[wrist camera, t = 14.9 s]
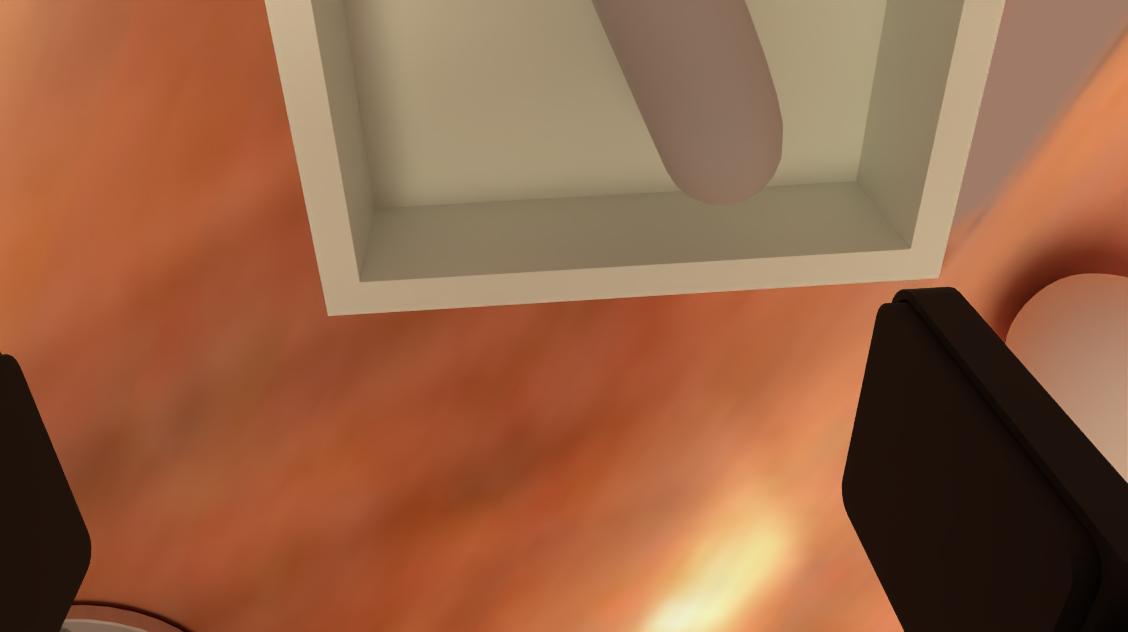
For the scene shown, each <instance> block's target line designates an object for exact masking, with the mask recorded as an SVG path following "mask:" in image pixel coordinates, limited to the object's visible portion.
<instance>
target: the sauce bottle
mask: <svg viewBox="0 0 1128 632" xmlns="http://www.w3.org/2000/svg"><path fill="white" fill-rule="evenodd" d="M1005 344H1006V346H1007V347H1008V348H1009V349H1010V350H1011V351H1012V352H1013V353H1014V355H1015V356H1016V357H1017V358H1018V359H1019V360H1020V361H1021V363H1022V364H1023V365H1024V366H1025V367H1026V368H1027V369H1028V371H1029V372H1030V373H1031V374H1032V375H1033V376H1034V377H1035V378H1036V380H1037V381H1038V382H1039V383H1040V384H1041V385H1042V386H1043V388H1044V389H1045V390H1046V391H1047V392H1048V393H1049V394H1050V396H1051V397H1052V398H1053V399H1054V400H1055V401H1056V402H1057V403H1058V405H1059V406H1060V407H1061V408H1062V409H1063V410H1064V411H1065V413H1066V414H1067V415H1068V416H1069V417H1070V418H1071V419H1072V421H1073V422H1074V423H1075V424H1076V425H1077V426H1078V427H1079V428H1080V430H1081V431H1082V432H1083V433H1084V434H1085V435H1086V436H1087V438H1088V439H1089V440H1090V441H1091V442H1092V443H1093V444H1094V445H1095V447H1096V448H1097V449H1098V450H1099V451H1100V452H1101V453H1102V455H1103V456H1104V457H1105V458H1106V459H1107V460H1108V461H1109V463H1110V464H1111V465H1112V466H1113V467H1114V468H1115V469H1116V470H1117V472H1118V473H1119V474H1120V475H1121V476H1122V477H1123V478H1124V480H1125V481H1126V482H1127V483H1128V277H1124V276H1118V275H1111V274H1099V273H1084V274H1078V275H1072V276H1068V277H1065V278H1062V279H1060V280H1057V281H1055V282H1053V283H1052V284H1050V285H1048V286H1046V287H1045V288H1043V289H1042V290H1041V291H1039V292H1038V293H1036V294H1035V295H1034V296H1033V297H1032V298H1031V299H1030V300H1029V301H1028V302H1027V303H1026V304H1025V305H1024V307H1023V308H1022V309H1021V310H1020V312H1019V313H1018V314H1017V316H1016V317H1015V319H1014V321H1013V322H1012V324H1011V326H1010V329H1009V331H1008V334H1007V337H1006V343H1005Z"/></svg>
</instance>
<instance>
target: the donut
mask: <svg viewBox="0 0 1128 632" xmlns="http://www.w3.org/2000/svg"><path fill="white" fill-rule="evenodd" d="M592 3H593V5H594V7H595V10H596V12H597V14H598V17H599V19H600V21H601V24H602V26H603V28H604V31H605V33H606V35H607V37H608V40H609V42H610V44H611V47H612V49H613V51H614V54H615V56H616V58H617V61H618V63H619V65H620V67H621V70H622V72H623V74H624V77H625V79H626V81H627V83H628V86H629V88H630V90H631V93H632V95H633V97H634V99H635V102H636V104H637V106H638V108H639V111H640V113H641V115H642V118H643V120H644V122H645V124H646V127H647V129H648V131H649V133H650V136H651V138H652V140H653V142H654V145H655V147H656V149H657V151H658V153H659V156H660V158H661V160H662V162H663V164H664V167H665V169H666V171H667V173H668V174H669V176H670V177H671V179H672V180H673V182H674V183H675V185H676V186H677V187H678V188H679V189H680V190H682V191H683V192H684V193H685V194H687V195H688V196H689V197H691V198H693V199H695V200H698V201H701V202H703V203H706V204H709V205H731V204H734V203H738V202H742V201H745V200H747V199H749V198H750V197H752V196H754V195H755V194H757V193H758V192H760V191H761V190H763V188H764V187H765V186H766V185H767V184H768V182H769V181H770V180H771V179H772V177H773V176H774V175H775V172H776V170H777V167H778V165H779V163H780V160H781V157H782V142H783V122H782V117H781V112H780V107H779V102H778V97H777V94H776V90H775V87H774V84H773V80H772V77H771V74H770V70H769V67H768V64H767V60H766V57H765V54H764V51H763V48H762V45H761V43H760V40H759V37H758V34H757V32H756V29H755V26H754V23H753V21H752V18H751V15H750V12H749V10H748V7H747V5H746V2H745V0H592Z"/></svg>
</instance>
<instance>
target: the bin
mask: <svg viewBox="0 0 1128 632" xmlns="http://www.w3.org/2000/svg"><path fill="white" fill-rule="evenodd" d="M1005 1H1006V0H745V2H746V5H747V7H748V10H749V12H750V15H751V18H752V21H753V23H754V26H755V29H756V32H757V34H758V37H759V40H760V43H761V45H762V48H763V51H764V54H765V57H766V60H767V64H768V67H769V70H770V74H771V77H772V80H773V84H774V87H775V90H776V94H777V97H778V102H779V107H780V112H781V117H782V122H783V142H782V157H781V160H780V163H779V165H778V167H777V170H776V172H775V175H774V176H773V177H772V179H771V180H770V181H769V182H768V184H767V185H766V186H765V187H764V188H763V190H761V191H760V192H758V193H757V194H755V195H754V196H752V197H750V198H749V199H747V200H745V201H742V202H738V203H734V204H731V205H709V204H706V203H703V202H701V201H698V200H695V199H693V198H691V197H689V196H688V195H687V194H685V193H684V192H683V191H682V190H680V189H679V188H678V187H677V186H676V185H675V183H674V182H673V180H672V179H671V177H670V176H669V174H668V173H667V171H666V169H665V167H664V164H663V162H662V160H661V158H660V156H659V153H658V151H657V149H656V147H655V145H654V142H653V140H652V138H651V136H650V133H649V131H648V129H647V127H646V124H645V122H644V120H643V118H642V115H641V113H640V111H639V108H638V106H637V104H636V102H635V99H634V97H633V95H632V93H631V90H630V88H629V86H628V83H627V81H626V79H625V77H624V74H623V72H622V70H621V67H620V65H619V63H618V61H617V58H616V56H615V54H614V51H613V49H612V47H611V44H610V42H609V40H608V37H607V35H606V33H605V31H604V28H603V26H602V24H601V21H600V19H599V17H598V14H597V12H596V10H595V7H594V5H593V3H592V0H265V5H266V10H267V15H268V20H269V25H270V30H271V35H272V40H273V45H274V50H275V55H276V60H277V65H278V70H279V75H280V79H281V84H282V89H283V94H284V99H285V104H286V109H287V114H288V119H289V124H290V129H291V134H292V139H293V144H294V149H295V154H296V159H297V164H298V169H299V174H300V179H301V184H302V189H303V194H304V199H305V204H306V209H307V214H308V219H309V224H310V229H311V234H312V239H313V244H314V249H315V254H316V259H317V263H318V268H319V273H320V278H321V283H322V288H323V293H324V298H325V303H326V308H327V313H328V316H336V315H353V314H369V313H385V312H401V311H417V310H433V309H449V308H465V307H481V306H497V305H514V304H530V303H546V302H562V301H578V300H594V299H610V298H626V297H642V296H659V295H675V294H691V293H707V292H723V291H739V290H755V289H771V288H787V287H803V286H820V285H836V284H852V283H868V282H884V281H900V280H916V279H932V278H939V275H940V271H941V267H942V263H943V258H944V254H945V250H946V246H947V242H948V238H949V234H950V229H951V225H952V221H953V217H954V213H955V208H956V204H957V200H958V196H959V192H960V188H961V184H962V179H963V175H964V171H965V167H966V163H967V159H968V155H969V151H970V146H971V142H972V138H973V134H974V130H975V126H976V121H977V117H978V113H979V109H980V104H981V100H982V96H983V92H984V88H985V84H986V79H987V76H988V72H989V67H990V63H991V59H992V55H993V51H994V46H995V43H996V38H997V34H998V30H999V26H1000V22H1001V18H1002V14H1003V9H1004V5H1005Z"/></svg>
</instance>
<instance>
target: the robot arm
mask: <svg viewBox="0 0 1128 632" xmlns="http://www.w3.org/2000/svg"><path fill="white" fill-rule="evenodd" d="M842 496H843V502H844V506H845V509H846V512H847V515H848V517H849V519H850V521H851V523H852V525H853V527H854V529H855V531H856V533H857V535H858V537H859V539H860V541H861V543H862V545H863V547H864V550H865V552H866V554H867V556H868V558H869V560H870V562H871V564H872V566H873V568H874V570H875V572H876V574H877V576H878V578H879V580H880V582H881V584H882V587H883V589H884V591H885V593H886V595H887V597H888V599H889V601H890V603H891V605H892V607H893V609H894V611H895V613H896V615H897V617H898V619H899V621H900V624H901V626H902V628H903V630H904V632H1128V483H1127V482H1126V481H1125V480H1124V478H1123V477H1122V476H1121V475H1120V474H1119V473H1118V472H1117V470H1116V469H1115V468H1114V467H1113V466H1112V465H1111V464H1110V463H1109V461H1108V460H1107V459H1106V458H1105V457H1104V456H1103V455H1102V453H1101V452H1100V451H1099V450H1098V449H1097V448H1096V447H1095V445H1094V444H1093V443H1092V442H1091V441H1090V440H1089V439H1088V438H1087V436H1086V435H1085V434H1084V433H1083V432H1082V431H1081V430H1080V428H1079V427H1078V426H1077V425H1076V424H1075V423H1074V422H1073V421H1072V419H1071V418H1070V417H1069V416H1068V415H1067V414H1066V413H1065V411H1064V410H1063V409H1062V408H1061V407H1060V406H1059V405H1058V403H1057V402H1056V401H1055V400H1054V399H1053V398H1052V397H1051V396H1050V394H1049V393H1048V392H1047V391H1046V390H1045V389H1044V388H1043V386H1042V385H1041V384H1040V383H1039V382H1038V381H1037V380H1036V378H1035V377H1034V376H1033V375H1032V374H1031V373H1030V372H1029V371H1028V369H1027V368H1026V367H1025V366H1024V365H1023V364H1022V363H1021V361H1020V360H1019V359H1018V358H1017V357H1016V356H1015V355H1014V353H1013V352H1012V351H1011V350H1010V349H1009V348H1008V347H1007V346H1006V344H1005V343H1004V342H1003V341H1002V340H1001V339H1000V338H999V336H998V335H997V334H996V333H995V332H994V331H993V330H992V329H991V327H990V326H989V325H988V324H987V323H986V322H985V321H984V319H983V318H982V317H981V316H980V315H979V314H978V313H977V311H976V310H975V309H974V308H973V307H972V306H971V305H970V304H969V302H968V301H967V300H966V299H965V298H964V297H963V296H962V294H961V293H960V292H959V291H957V290H956V289H955V288H952V287H938V288H920V289H903V290H900V291H899V292H897V293H896V295H895V296H894V298H893V300H892V303H885V304H883V305H881V307H880V308H879V310H878V313H877V316H876V321H875V325H874V330H873V335H872V340H871V345H870V350H869V354H868V359H867V364H866V369H865V374H864V379H863V383H862V388H861V393H860V398H859V403H858V408H857V412H856V417H855V422H854V427H853V432H852V436H851V441H850V446H849V451H848V456H847V461H846V465H845V470H844V475H843V481H842ZM90 558H91V540H90V536H89V533H88V530H87V528H86V525H85V523H84V521H83V518H82V516H81V513H80V511H79V508H78V506H77V504H76V501H75V499H74V496H73V494H72V491H71V489H70V487H69V484H68V482H67V479H66V477H65V474H64V472H63V470H62V467H61V465H60V462H59V460H58V457H57V455H56V453H55V450H54V448H53V445H52V443H51V440H50V438H49V436H48V433H47V431H46V428H45V426H44V423H43V421H42V419H41V416H40V414H39V411H38V409H37V406H36V404H35V402H34V399H33V397H32V394H31V392H30V389H29V387H28V385H27V382H26V380H25V377H24V375H23V372H22V370H21V368H20V366H19V364H18V362H17V360H16V359H15V358H14V357H13V356H10V355H7V354H4V355H2V354H1V353H0V632H183V631H181V630H180V629H178V628H176V627H174V626H172V625H170V624H167V623H165V622H163V621H161V620H159V619H156V618H153V617H150V616H147V615H143V614H140V613H137V612H134V611H129V610H123V609H118V608H113V607H106V606H92V605H72V603H73V601H74V599H75V597H76V594H77V592H78V590H79V588H80V585H81V583H82V581H83V579H84V577H85V574H86V572H87V570H88V567H89V564H90Z"/></svg>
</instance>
